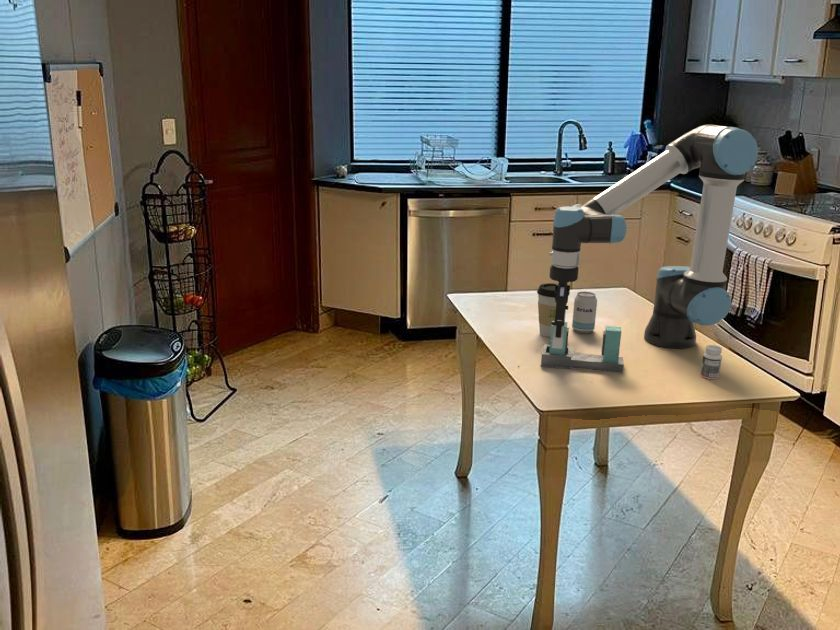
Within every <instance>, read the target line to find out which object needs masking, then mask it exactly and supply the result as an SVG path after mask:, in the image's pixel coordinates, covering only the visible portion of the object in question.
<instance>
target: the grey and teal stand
mask: <svg viewBox="0 0 840 630" xmlns="http://www.w3.org/2000/svg"><path fill="white" fill-rule="evenodd" d="M602 332H603V334H602V343H601V354H592V353H583V352H582V353H581V352H573V347H572V346H567V352H565V355H560V354H550V353H549V350H550V344H543V345H542V352H541V361H540V367H544V368H556V369H567V370H571V369H577V370H578V369H579V370H587V371H588V370H589V371H598V372H606V373H607V372H609V373H618V374H624V366H625V365H624V364H625V362H624V357H621V356H620V347H621V339H622V327H621V326H613V325H605V330H603V331H602Z"/></svg>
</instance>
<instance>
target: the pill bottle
mask: <svg viewBox="0 0 840 630" xmlns="http://www.w3.org/2000/svg"><path fill="white" fill-rule="evenodd" d="M722 350H723V348H722V347H721V346H718V345H713V344H709V345H706V346H705V350H704V351H705V352H704V353H703V355H702V361H701V368H700V369H701V370H700V376H701V377H702V378H704V379H706V378H707V380H718V379H719V377H720V372H721V366H722V359H723V357H722V356H723V355H722Z"/></svg>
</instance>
